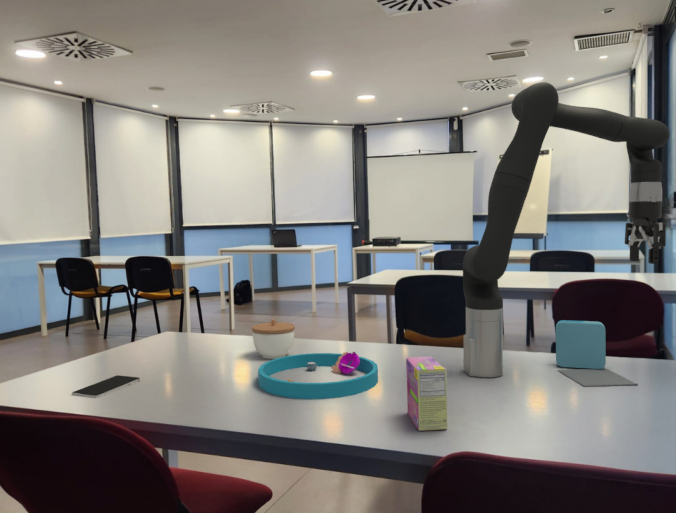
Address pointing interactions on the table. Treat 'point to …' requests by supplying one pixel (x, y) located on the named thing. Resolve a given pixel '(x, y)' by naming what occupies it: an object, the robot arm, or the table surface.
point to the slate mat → (596, 377)
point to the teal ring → (319, 390)
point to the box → (426, 393)
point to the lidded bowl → (273, 339)
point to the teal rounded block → (580, 344)
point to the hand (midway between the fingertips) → (643, 262)
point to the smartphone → (106, 386)
